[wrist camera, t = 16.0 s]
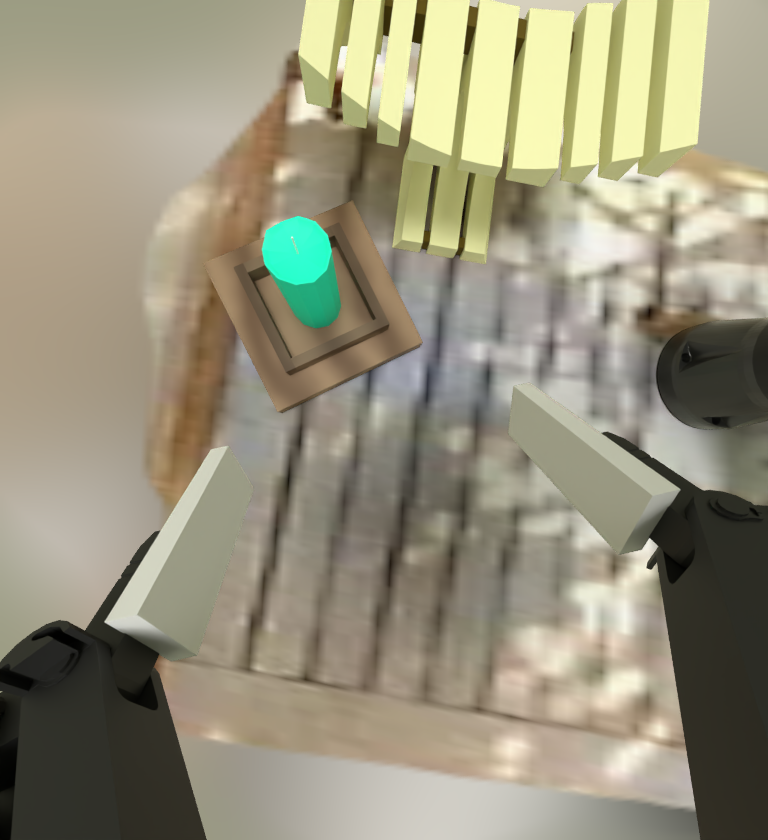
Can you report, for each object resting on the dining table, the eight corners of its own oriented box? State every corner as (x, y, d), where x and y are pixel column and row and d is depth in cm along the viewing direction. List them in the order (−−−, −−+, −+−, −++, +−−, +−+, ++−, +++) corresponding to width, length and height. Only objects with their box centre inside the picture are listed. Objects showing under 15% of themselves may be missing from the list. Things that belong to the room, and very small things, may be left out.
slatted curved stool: (554, 166, 39) (713, -50, 21) (543, 274, 39) (697, 143, 21) (345, 122, 37) (329, -159, 19) (329, 236, 36) (298, 54, 19)
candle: (342, 282, 34) (330, 204, 22) (340, 329, 34) (328, 276, 22) (292, 279, 34) (254, 197, 22) (291, 327, 34) (251, 271, 22)
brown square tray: (352, 212, 37) (351, 186, 33) (419, 346, 37) (426, 336, 33) (212, 272, 35) (192, 252, 31) (282, 412, 35) (272, 410, 31)
